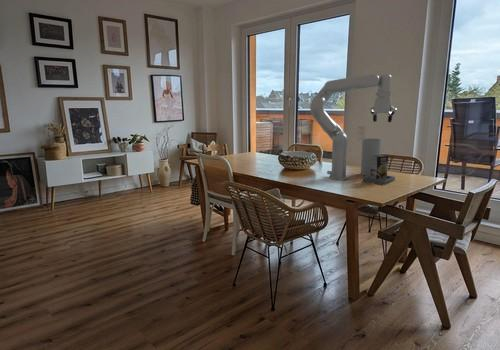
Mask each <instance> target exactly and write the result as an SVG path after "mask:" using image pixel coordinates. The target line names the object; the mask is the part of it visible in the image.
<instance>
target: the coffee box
mask: <svg viewBox="0 0 500 350" xmlns="http://www.w3.org/2000/svg"><path fill="white" fill-rule="evenodd" d="M388 167H389V155H387V154H380V155H373V156H371V170H370V178H371V179H377V180H387V176H388Z"/></svg>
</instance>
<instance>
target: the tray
mask: <svg viewBox="0 0 500 350" xmlns="http://www.w3.org/2000/svg"><path fill="white" fill-rule="evenodd" d="M395 179H396V176H394V175H393V176H392V175H387V180H377V179H371V178H370V175H369V176H363V177H362V182H365V183H371V184H376V185H383V186H385V185H387V184H390V183H393V182H394V181H396V180H395Z"/></svg>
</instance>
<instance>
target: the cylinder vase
mask: <svg viewBox="0 0 500 350" xmlns="http://www.w3.org/2000/svg"><path fill="white" fill-rule="evenodd" d="M361 141H362V142H361V143H362V144H361V163H360V174H361V175H362V176H363V177H366V176H369V175H370V170H371V156H373V155H382V154H381V151H382V139H381V138H363V139H362V140H361Z"/></svg>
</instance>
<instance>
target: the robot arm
mask: <svg viewBox="0 0 500 350" xmlns="http://www.w3.org/2000/svg"><path fill="white" fill-rule="evenodd" d="M373 87H377V92H376V93H375V96H376V97H375V101H374V106H372V107H370V108H369V111H370V113H371V115H372V120H373V122H375V123H376V122H377V121H378V120H377V119H378V116H377V114H388V116H387V117H388V118H387V123H392V120H393V115H394V114H395V113H396V112H397V110H398V108H397V107H394V106H393V104H392V103H393V101H392V96H391V90H392V89H391V88H392V75H391V74H380V75H378V74H376V73H375V74H374V73H372V74H367V75H361V76H360V75H359V76H351V77H345V78H338V79H333V80H329V81H326V82H325V83H324V85H323V86H322V87H321V89H320V90H319V91H318V93H316V95H315V96H313V97H312V99H311V101H310V102H311V103H310V104H309V105H310V106H309V108H310V109H309V110H310V114H311V116H312V117H313V119H314V120H315V122H317V124H318V125H319V126H320V128H321V129H322V131H324V133H325V134H327V136H328V137H329V138H330V139H331V140H332V145H331V147H332V148H331V149H332V150H331V170H327V171H326V174H327V175H329V176H328V178H329V179H330V180H335V181H343V180H348V179H349V176H348V175H347V155H348V153H347V152H348V143H349V142H348V141H349V140H348V135H347V134H346V132H345V131H344V130H343V129H342V128H341V126H340V125H339V124H338V122H336V120H334V119H332V118H331V116H329V114H328V113H327V112H326V110H325V108H324V105H326V103H327V102H328V101H329V100H330V98H331V97H332V96H333V95H334V94H339V93H346V92H352V91H355V90H361V89H367V88H373Z"/></svg>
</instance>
